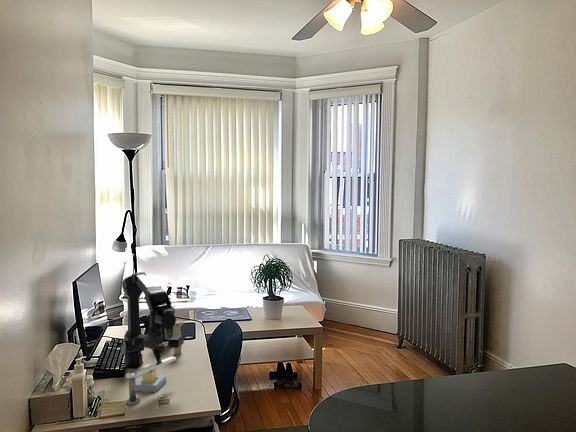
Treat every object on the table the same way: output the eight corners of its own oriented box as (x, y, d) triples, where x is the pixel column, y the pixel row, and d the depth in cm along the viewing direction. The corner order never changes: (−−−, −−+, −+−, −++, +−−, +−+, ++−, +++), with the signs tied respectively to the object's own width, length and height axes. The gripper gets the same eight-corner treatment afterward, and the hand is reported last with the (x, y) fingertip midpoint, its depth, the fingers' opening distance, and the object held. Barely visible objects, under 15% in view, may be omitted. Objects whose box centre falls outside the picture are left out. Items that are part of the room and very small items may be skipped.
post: (123, 404, 176) (121, 379, 175) (129, 398, 181) (128, 374, 180) (136, 405, 175) (135, 380, 174) (142, 399, 180) (141, 374, 179)
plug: (142, 388, 190) (141, 368, 190) (147, 383, 194) (146, 364, 194) (152, 388, 189) (151, 368, 189) (157, 384, 193) (156, 364, 193)
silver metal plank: (130, 379, 175) (130, 377, 174) (123, 377, 177) (123, 374, 177) (177, 360, 193) (177, 357, 192) (170, 358, 195) (170, 356, 195)
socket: (133, 390, 188) (132, 384, 188) (144, 380, 197) (143, 374, 197) (156, 391, 186) (155, 385, 186) (166, 381, 196) (165, 375, 195)
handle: (185, 354, 227) (184, 322, 225) (171, 356, 224) (170, 324, 223) (184, 350, 231) (182, 319, 230) (170, 352, 229) (168, 321, 228)
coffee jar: (174, 347, 237) (172, 309, 235) (157, 348, 236) (155, 310, 235) (177, 340, 246) (176, 304, 245) (161, 341, 246) (160, 305, 244)
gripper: (125, 328, 183) (126, 368, 184) (172, 330, 179) (173, 371, 180) (139, 319, 194) (140, 358, 195) (183, 321, 190) (184, 361, 191)
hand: (158, 362), depth 190 cm, fingers closed
